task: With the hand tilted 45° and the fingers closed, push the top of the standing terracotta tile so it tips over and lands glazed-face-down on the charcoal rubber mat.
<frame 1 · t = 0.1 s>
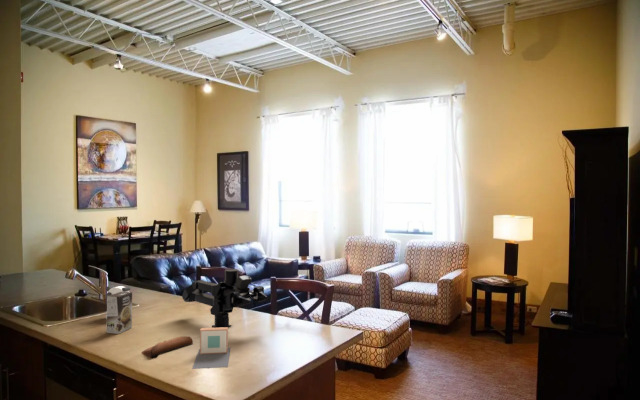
hand: (258, 300, 176), 17 cm above the counter, tool horizontal, fingers open, 9 cm apart
sunglasses case: (167, 350, 164), on the counter
tile: (214, 352, 160), point 1 cm above the counter, touching mat
white piece: (118, 317, 207), on the counter
mat: (212, 359, 155), on the counter
coffee box: (119, 330, 186), on the counter
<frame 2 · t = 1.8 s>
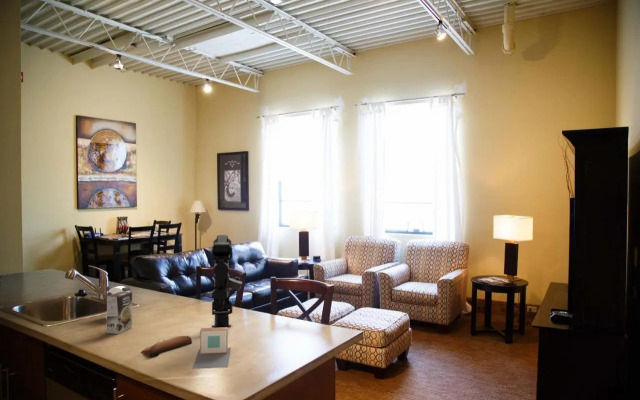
hand: (221, 310, 177), 12 cm above the counter, tool pointing down, fingers open, 5 cm apart
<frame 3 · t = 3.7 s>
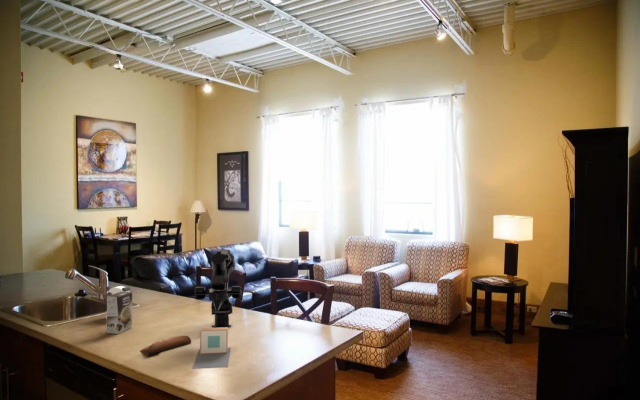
hand: (216, 310, 170), 13 cm above the counter, tool tilted 45°, fingers closed
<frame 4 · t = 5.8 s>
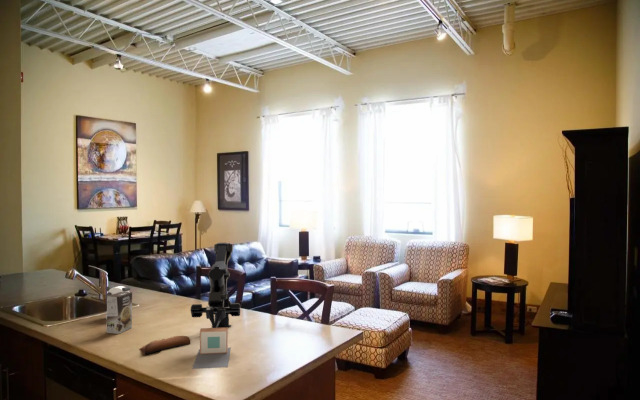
hand: (214, 330, 160), 9 cm above the counter, tool tilted 45°, fingers closed, pressing on tile
tile: (214, 352, 160), point 1 cm above the counter, tilted 6°, touching gripper, mat
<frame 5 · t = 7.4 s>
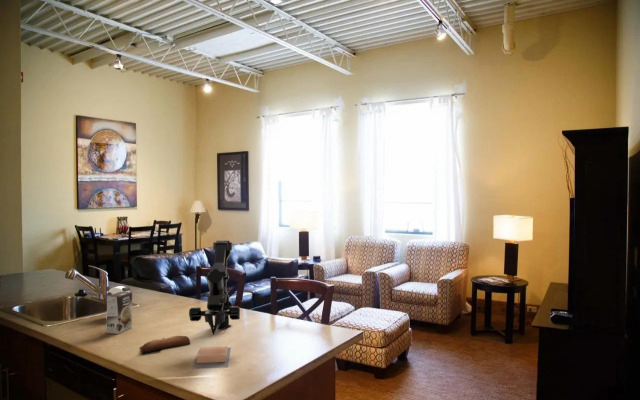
hand: (213, 334, 156), 9 cm above the counter, tool tilted 45°, fingers closed
tile: (213, 349, 158), point 2 cm above the counter, tilted 90°, touching mat
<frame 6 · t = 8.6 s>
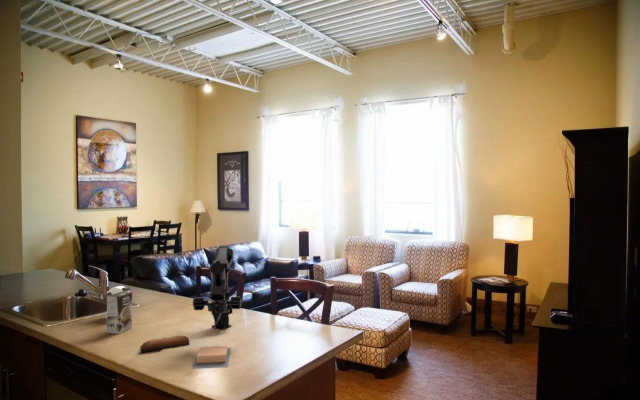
hand: (215, 322, 166), 10 cm above the counter, tool tilted 45°, fingers closed
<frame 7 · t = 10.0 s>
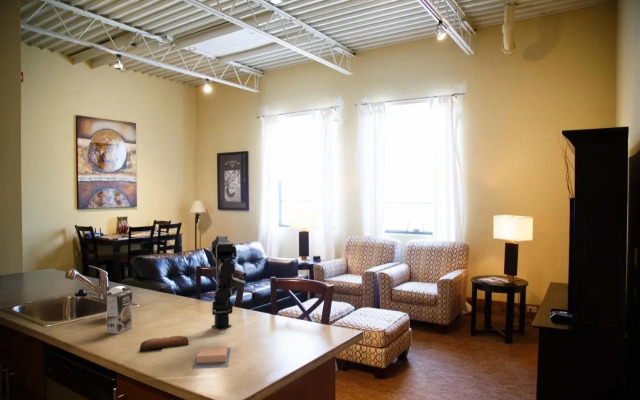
hand: (224, 309, 178), 12 cm above the counter, tool pointing down, fingers closed
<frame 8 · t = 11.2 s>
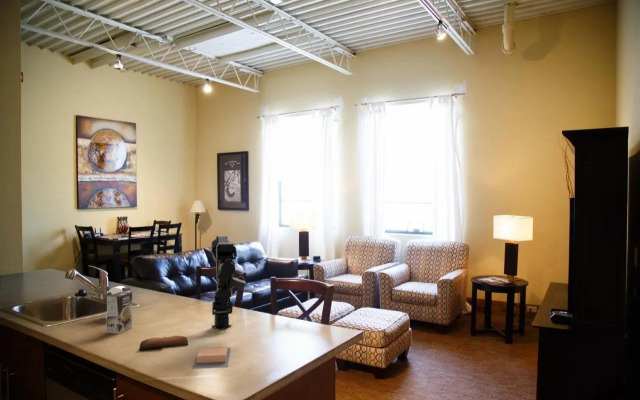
hand: (225, 309, 178), 12 cm above the counter, tool pointing down, fingers closed
at the end: tile tilted 90°; tile 3.7 cm from the mat (horizontally); tile touching mat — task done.
